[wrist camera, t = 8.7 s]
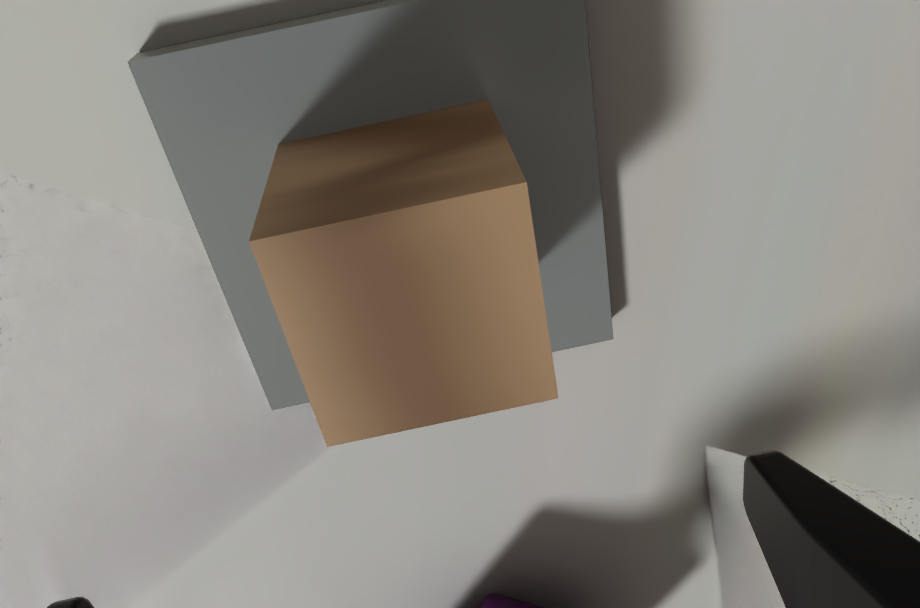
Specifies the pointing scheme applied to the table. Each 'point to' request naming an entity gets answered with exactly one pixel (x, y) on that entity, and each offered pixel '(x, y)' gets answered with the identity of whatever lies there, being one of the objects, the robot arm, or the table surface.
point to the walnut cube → (406, 272)
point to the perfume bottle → (503, 603)
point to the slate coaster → (377, 100)
